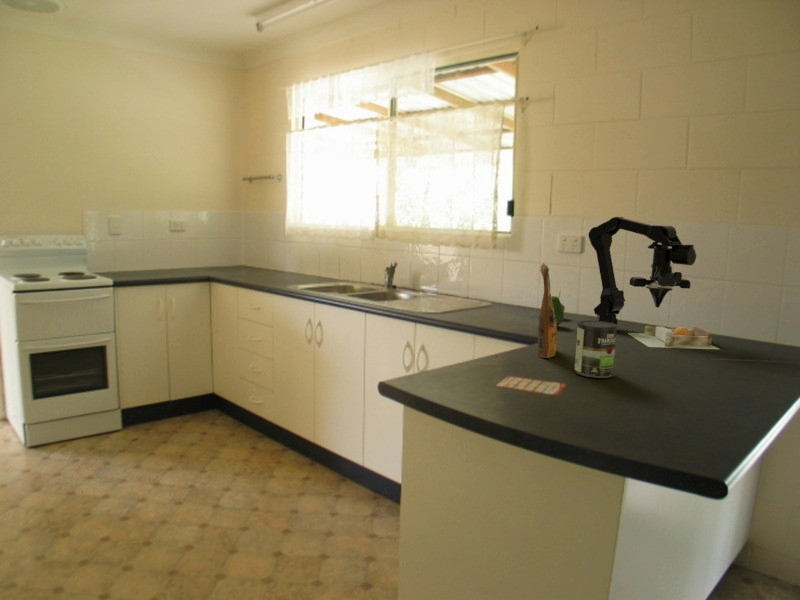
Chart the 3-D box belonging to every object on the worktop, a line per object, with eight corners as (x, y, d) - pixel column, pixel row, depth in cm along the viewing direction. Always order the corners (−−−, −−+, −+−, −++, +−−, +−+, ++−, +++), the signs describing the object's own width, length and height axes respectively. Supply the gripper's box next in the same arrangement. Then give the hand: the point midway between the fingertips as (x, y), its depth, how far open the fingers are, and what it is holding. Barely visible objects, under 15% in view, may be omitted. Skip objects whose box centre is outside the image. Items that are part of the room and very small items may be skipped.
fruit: (565, 329, 220) (567, 297, 218) (544, 328, 220) (546, 297, 218) (560, 325, 228) (562, 294, 226) (540, 324, 228) (541, 294, 226)
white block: (665, 342, 197) (666, 331, 196) (655, 336, 206) (656, 326, 205) (672, 342, 197) (673, 332, 196) (662, 336, 206) (663, 326, 205)
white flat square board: (648, 348, 191) (648, 346, 191) (626, 334, 213) (626, 332, 213) (720, 350, 190) (720, 349, 190) (690, 336, 211) (691, 335, 211)
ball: (694, 331, 198) (688, 344, 198) (688, 328, 203) (681, 341, 203) (681, 326, 198) (674, 339, 198) (675, 323, 203) (668, 336, 203)
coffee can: (621, 376, 157) (625, 325, 155) (593, 381, 152) (597, 328, 150) (593, 367, 166) (596, 319, 164) (565, 371, 161) (569, 321, 159)
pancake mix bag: (531, 359, 173) (537, 266, 169) (536, 345, 191) (541, 261, 187) (555, 361, 171) (561, 267, 167) (557, 347, 189) (562, 262, 185)
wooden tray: (665, 346, 191) (666, 335, 191) (643, 333, 212) (644, 323, 211) (716, 348, 190) (718, 336, 190) (689, 335, 211) (690, 324, 210)
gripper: (641, 263, 192) (637, 310, 194) (699, 265, 191) (694, 312, 193) (631, 260, 203) (627, 304, 205) (685, 262, 201) (681, 306, 204)
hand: (657, 307), depth 202 cm, fingers closed
